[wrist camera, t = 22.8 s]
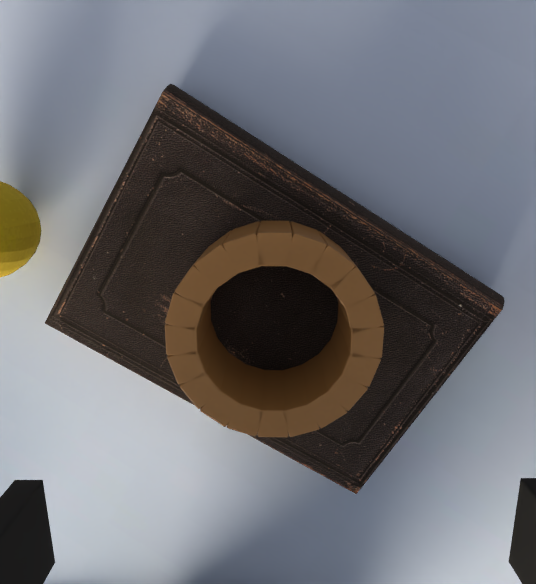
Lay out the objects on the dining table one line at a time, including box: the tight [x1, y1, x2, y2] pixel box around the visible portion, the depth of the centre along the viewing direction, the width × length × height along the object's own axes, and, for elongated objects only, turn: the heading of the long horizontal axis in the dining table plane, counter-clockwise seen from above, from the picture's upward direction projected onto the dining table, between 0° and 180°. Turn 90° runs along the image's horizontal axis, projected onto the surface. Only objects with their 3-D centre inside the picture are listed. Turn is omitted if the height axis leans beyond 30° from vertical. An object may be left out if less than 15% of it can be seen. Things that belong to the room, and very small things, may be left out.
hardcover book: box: [45, 84, 504, 494], centre depth 29 cm, size 16×23×2 cm
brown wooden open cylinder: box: [165, 221, 384, 437], centre depth 25 cm, size 11×11×5 cm
